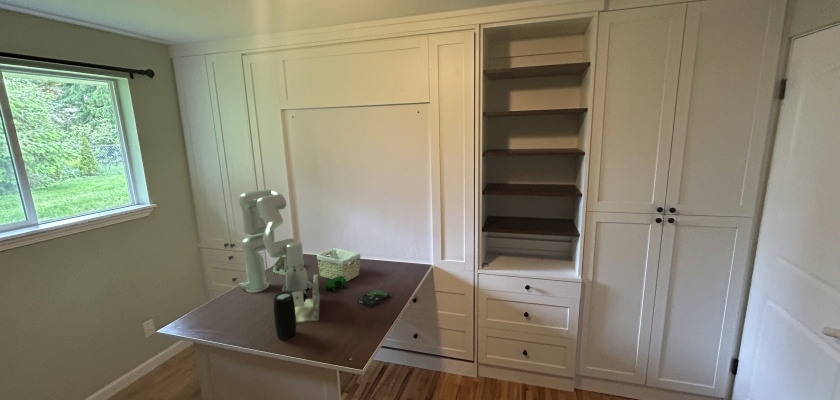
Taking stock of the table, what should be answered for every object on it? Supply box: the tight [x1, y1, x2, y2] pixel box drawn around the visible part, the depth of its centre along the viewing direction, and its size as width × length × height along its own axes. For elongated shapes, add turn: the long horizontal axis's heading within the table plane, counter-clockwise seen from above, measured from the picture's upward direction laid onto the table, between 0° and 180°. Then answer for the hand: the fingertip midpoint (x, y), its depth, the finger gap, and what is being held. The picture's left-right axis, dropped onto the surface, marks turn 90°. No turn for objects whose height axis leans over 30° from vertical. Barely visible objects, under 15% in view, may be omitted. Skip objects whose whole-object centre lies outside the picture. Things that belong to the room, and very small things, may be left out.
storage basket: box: [316, 247, 361, 282], centre depth 213 cm, size 24×16×15 cm
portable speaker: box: [272, 291, 297, 341], centre depth 148 cm, size 9×9×20 cm
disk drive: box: [356, 289, 391, 309], centre depth 181 cm, size 10×3×15 cm
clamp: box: [324, 276, 347, 293], centre depth 195 cm, size 12×6×9 cm, turn 128°
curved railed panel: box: [295, 273, 321, 325], centre depth 169 cm, size 19×22×14 cm
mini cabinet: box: [292, 290, 304, 307], centre depth 168 cm, size 5×10×7 cm, turn 15°
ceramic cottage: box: [272, 255, 288, 276], centre depth 221 cm, size 16×16×15 cm
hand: (298, 300), depth 169 cm, fingers closed on mini cabinet, 5 cm apart
